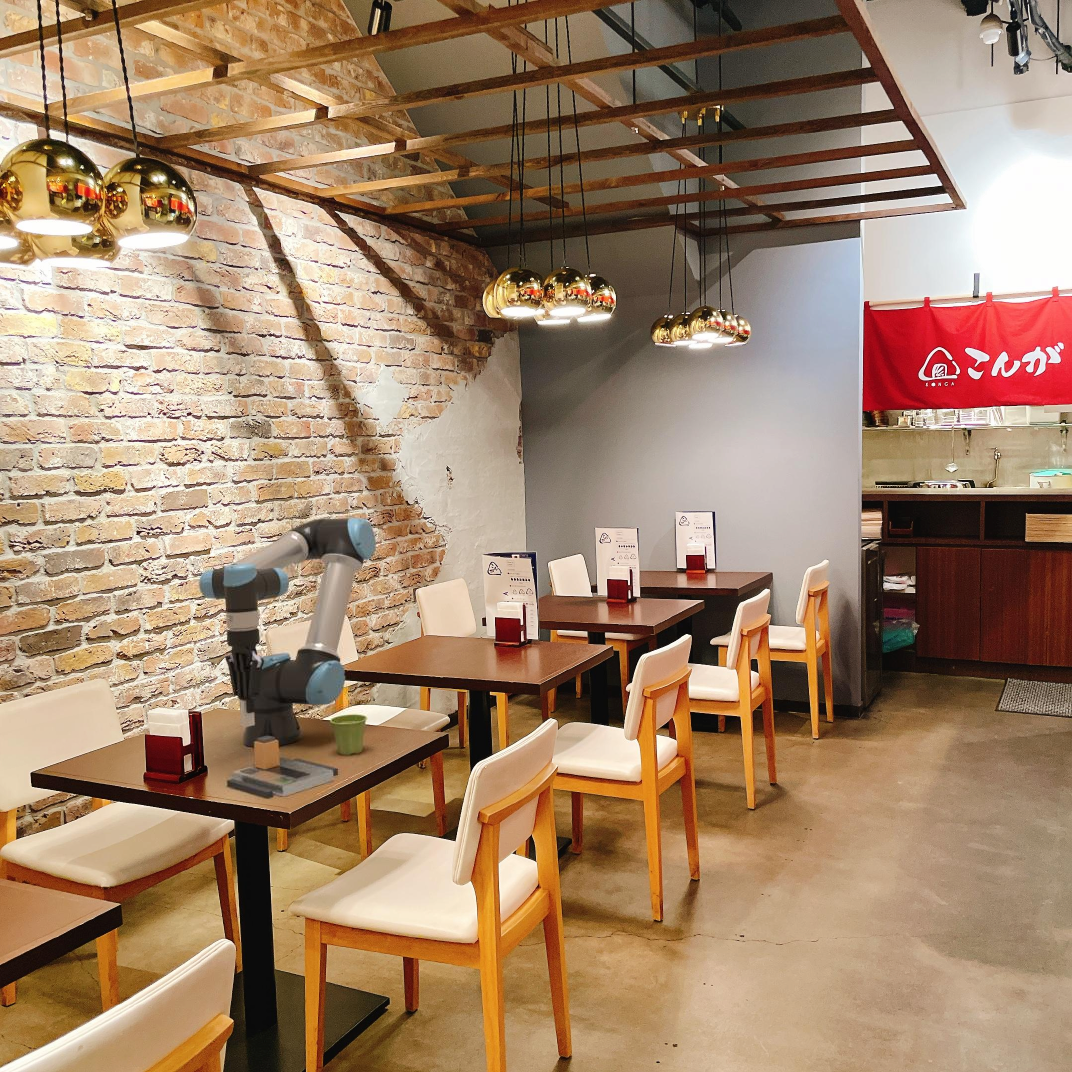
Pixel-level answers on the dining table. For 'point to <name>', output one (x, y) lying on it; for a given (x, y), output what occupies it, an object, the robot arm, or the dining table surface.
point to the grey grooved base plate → (266, 792)
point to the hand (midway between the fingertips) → (248, 725)
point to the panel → (285, 777)
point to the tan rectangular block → (266, 752)
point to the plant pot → (349, 733)
